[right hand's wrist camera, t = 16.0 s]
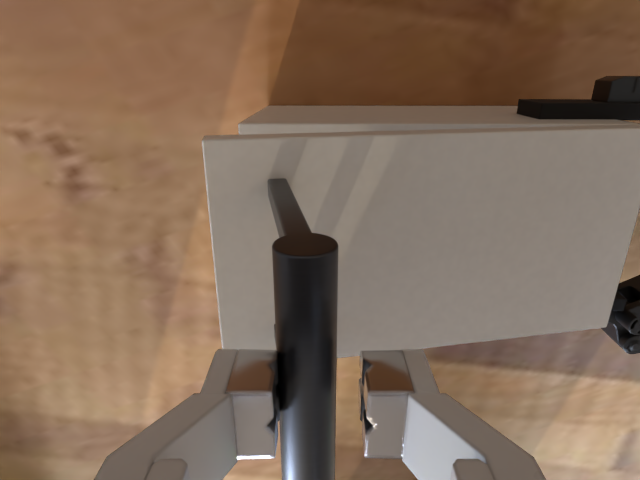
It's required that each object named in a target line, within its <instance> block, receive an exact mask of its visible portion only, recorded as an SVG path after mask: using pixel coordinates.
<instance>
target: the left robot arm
mask: <svg viewBox="0 0 640 480" xmlns="http://www.w3.org/2000/svg"><path fill="white" fill-rule="evenodd" d="M517 114H519V115H523V116H527V117H531V118H536V119H599V120H640V76H606V77H603V78H600V79H598V80H596V81H595V85H594V90H593V95H592V99H591V100H574V99H519V101H518V108H517ZM601 329H602V330H604V331H605V332H606V334H607V335H609V336H610V337H611V338H612V339H613V340H614V341H615V342H616V343H617V344H618V345H619V346H620V347H621V348H622V349H623V350H624V351H625V352H627V353H629V354H636V353H640V275H639V276H636V277H634V278H631V279H629V280H626V281H624V282H622V283H619V284H618V288H617V292H616V295H615V299H614V302H613V306H612V310H611V313H610V317H609V320H608V324H607V327H605V328H601Z"/></svg>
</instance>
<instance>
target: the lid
mask: <svg viewBox="0 0 640 480" xmlns="http://www.w3.org/2000/svg"><path fill="white" fill-rule="evenodd" d="M202 148H203V159H204V169H205V179H206V189H207V199H208V210H209V220H210V230H211V240H212V250H213V261H214V271H215V281H216V291H217V302H218V312H219V322H220V332H221V342H222V349H238V350H239V349H252V350H277V351H278V358H279V381H278V385H279V389H280V407H281V411H280V442H281V465H282V480H335V430H336V367H337V358H343V357H352V356H360V352H361V351H364V350H402V349H421V348H430V347H439V346H448V345H456V344H465V343H474V342H482V341H491V340H500V339H509V338H517V337H526V336H535V335H544V334H552V333H561V332H570V331H578V330H587V329H596V328H605V327H607V324H608V320H609V317H610V313H611V310H612V306H613V302H614V299H615V295H616V292H617V288H618V284H619V281H620V277H621V274H622V270H623V266H624V263H625V259H626V256H627V252H628V248H629V245H630V241H631V238H632V234H633V230H634V227H635V223H636V220H637V216H638V212H639V209H640V124H634V125H595V126H557V127H518V128H479V129H440V130H401V131H362V132H323V133H284V134H245V135H206V136H204V137H203V140H202Z"/></svg>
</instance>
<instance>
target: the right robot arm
mask: <svg viewBox="0 0 640 480" xmlns="http://www.w3.org/2000/svg"><path fill="white" fill-rule="evenodd" d="M360 372H361V378H360V379H359V412H360V420H361V421H362V438H363V446H364V454H365V458H384V459H403V460H402V461H403V462H404V463H405V465H406V466H407V467H408V468H409V469H410V471H411V472H412V473H413V474H414V475H415V477H416V478H417V479H418V480H546V479H545V477H544V475H543V473H542V471H541V469H540V468H539V466H538V464H537V462H536V460H535V459H534V457H533V456H531V455H530V454H528V453H527V452H526V451H524V450H523V449H522V448H520V447H519V446H517V445H516V444H515V443H513V442H512V441H511V440H509V439H508V438H506V437H505V436H504V435H502V434H501V433H500V432H498V431H497V430H495V429H494V428H493V427H491V426H490V425H489V424H487V423H486V422H484V421H483V420H482V419H480V418H479V417H478V416H476V415H475V414H473V413H472V412H471V411H469V410H468V409H467V408H465V407H464V406H462V405H461V404H460V403H458V402H457V401H456V400H454V399H453V398H451V397H450V396H449V395H447V394H445V393H440V392H439V390H438V387H437V384H436V382H435V379H434V376H433V374H432V371H431V368H430V366H429V363H428V360H427V358H426V355H425V353H424V351H423V350H422V349H402V350H364V351H361V352H360ZM278 381H279V358H278V351H277V350H252V349H239V350H238V349H218V350H217V351H216V352H215V355H214V357H213V360H212V363H211V365H210V368H209V371H208V374H207V376H206V379H205V382H204V384H203V387H202V390H201V392H200V393H195V394H193V395H191V396H190V397H189V398H187V399H186V400H184V401H183V402H182V403H180V404H179V405H177V406H176V407H175V408H173V409H172V410H171V411H169V412H168V413H166V414H165V415H164V416H162V417H161V418H160V419H158V420H157V421H155V422H154V423H153V424H151V425H150V426H149V427H147V428H146V429H144V430H143V431H142V432H140V433H139V434H137V435H136V436H135V437H133V438H132V439H131V440H129V441H128V442H126V443H125V444H124V445H122V446H121V447H120V448H118V449H117V450H115V451H114V452H113V453H111V454H110V455H109V456H107V457H106V459H105V461H104V463H103V464H102V466H101V468H100V470H99V472H98V473H97V475H96V477H95V479H94V480H222V479H223V478H224V477H225V476H226V474H227V473H228V472H229V471H230V470H231V468H232V467H233V466H234V465H235V464H236V462H237V459H256V458H275V455H276V446H277V438H278V421H279V420H280V411H281V407H280V389H279V385H278Z"/></svg>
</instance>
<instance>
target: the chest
mask: <svg viewBox="0 0 640 480" xmlns="http://www.w3.org/2000/svg"><path fill="white" fill-rule="evenodd" d="M517 108H518V106H267V107H265V108H263V109H262V110H260V111H259V112H257V113H255V114H254V115H252V116H250V117H249V118H247V119H245V120H244V121H242V122H240V123H239V124H238V129H239V135H245V134H284V133H323V132H362V131H401V130H440V129H479V128H518V127H557V126H595V125H634V124H638V123H633V122H627V121H621V120H599V119H536V118H531V117H527V116H523V115H519V114H517Z"/></svg>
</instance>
